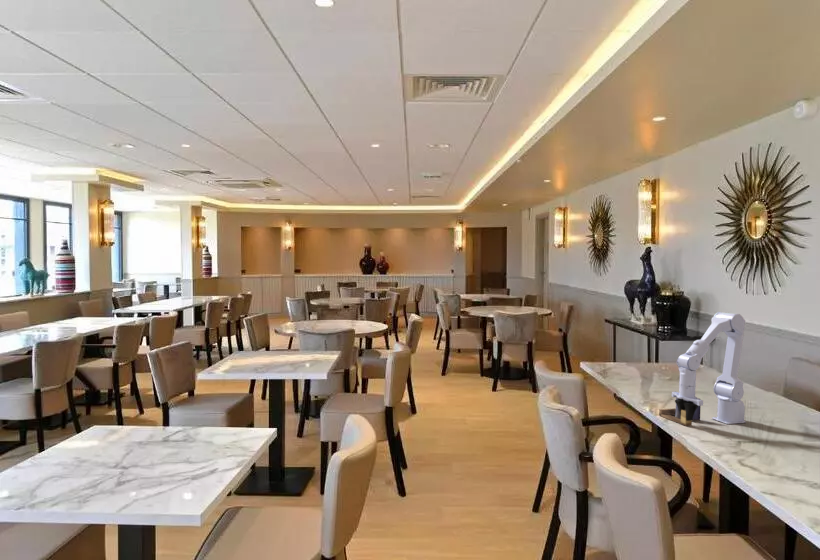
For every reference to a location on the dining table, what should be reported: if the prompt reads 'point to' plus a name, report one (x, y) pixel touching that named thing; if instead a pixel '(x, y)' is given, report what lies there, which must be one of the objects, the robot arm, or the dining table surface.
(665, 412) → the wooden t-shaped handle
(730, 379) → the robot arm
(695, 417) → the flask
